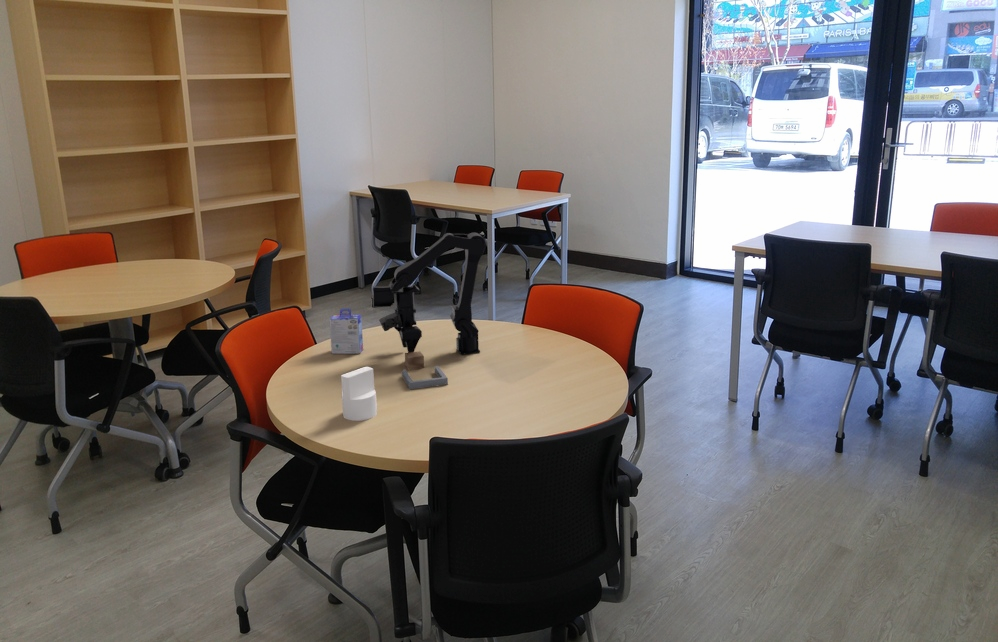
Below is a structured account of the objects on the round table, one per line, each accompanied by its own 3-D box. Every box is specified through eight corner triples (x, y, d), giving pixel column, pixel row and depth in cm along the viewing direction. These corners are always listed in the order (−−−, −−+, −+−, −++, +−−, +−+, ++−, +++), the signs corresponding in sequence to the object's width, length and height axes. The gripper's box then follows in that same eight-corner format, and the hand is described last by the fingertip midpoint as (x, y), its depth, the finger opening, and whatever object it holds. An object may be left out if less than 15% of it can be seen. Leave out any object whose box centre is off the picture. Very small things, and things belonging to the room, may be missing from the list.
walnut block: (420, 363, 242) (420, 351, 241) (424, 368, 238) (423, 356, 237) (405, 364, 241) (404, 353, 240) (408, 369, 236) (408, 357, 235)
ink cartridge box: (364, 348, 256) (361, 307, 252) (361, 354, 251) (358, 312, 247) (335, 349, 256) (331, 307, 252) (331, 354, 251) (328, 312, 247)
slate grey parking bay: (438, 371, 234) (438, 365, 233) (447, 384, 223) (447, 378, 223) (402, 376, 230) (401, 370, 230) (409, 389, 220) (409, 382, 219)
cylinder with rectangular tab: (362, 404, 209) (359, 363, 206) (384, 412, 204) (381, 370, 201) (336, 415, 203) (332, 373, 199) (358, 423, 197) (355, 380, 194)
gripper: (375, 300, 250) (378, 345, 254) (385, 315, 233) (388, 363, 237) (408, 297, 253) (411, 342, 258) (421, 312, 236) (423, 359, 241)
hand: (407, 351), depth 248 cm, fingers open, 9 cm apart
